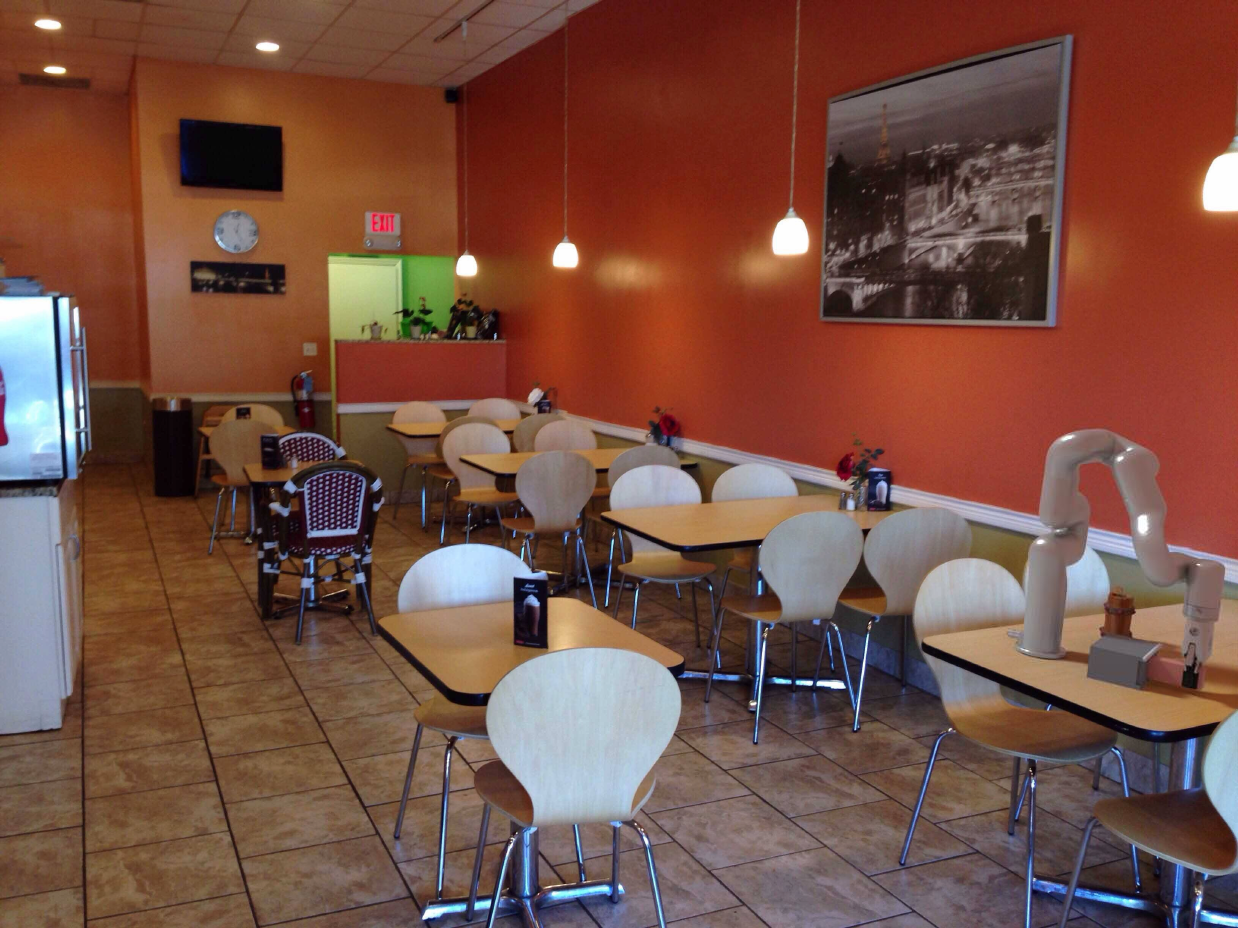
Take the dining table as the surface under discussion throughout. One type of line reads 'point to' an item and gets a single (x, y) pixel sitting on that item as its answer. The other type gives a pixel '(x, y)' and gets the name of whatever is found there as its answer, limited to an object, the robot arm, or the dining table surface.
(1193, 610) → the robot arm
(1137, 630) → the dining table surface
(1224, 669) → the dining table surface
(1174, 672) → the long pink plank
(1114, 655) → the dispenser
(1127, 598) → the brown wooden cylinder bundle
